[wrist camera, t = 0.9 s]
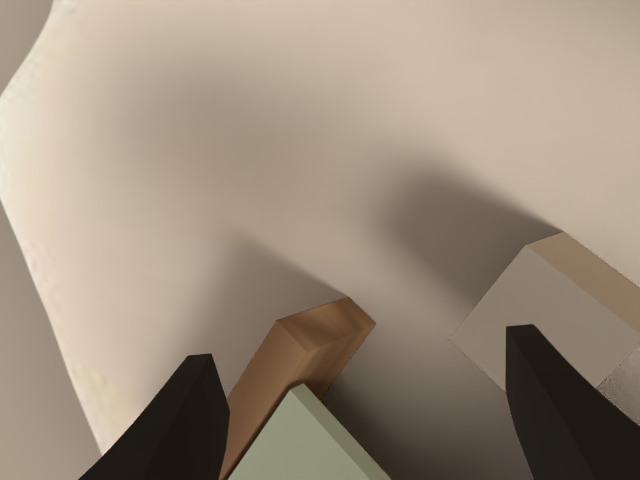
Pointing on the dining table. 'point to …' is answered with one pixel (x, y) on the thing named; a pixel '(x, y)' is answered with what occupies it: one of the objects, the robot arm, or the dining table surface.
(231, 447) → the frame
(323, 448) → the trapdoor
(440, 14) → the dining table surface
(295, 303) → the dining table surface
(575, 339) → the granite block
